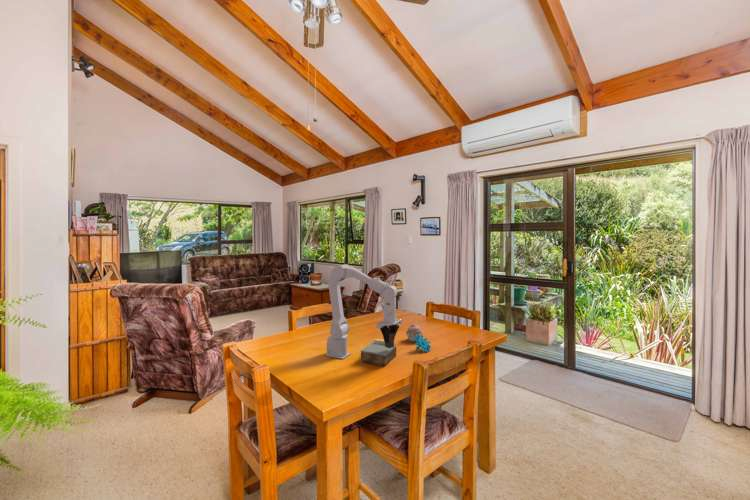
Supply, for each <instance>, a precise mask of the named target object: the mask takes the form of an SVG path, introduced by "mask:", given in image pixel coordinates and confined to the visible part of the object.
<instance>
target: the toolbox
mask: <svg viewBox="0 0 750 500" xmlns="http://www.w3.org/2000/svg"><path fill="white" fill-rule="evenodd" d="M396 357H397V346H396V347H395V348H394V349H393V350H392V351H390V352H389V353H388V354H387V355H386V356H380V355H375V354H369V353H363V352H361V351H360V363H363V364H367V365H374V366H380V367H383V368H385V367H386V366H387V365H388V364H390V362H391V361H393V360H394V359H395V358H396Z"/></svg>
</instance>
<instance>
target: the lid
mask: <svg viewBox="0 0 750 500" xmlns="http://www.w3.org/2000/svg"><path fill="white" fill-rule="evenodd" d="M395 347H396V348H397V344H396V343H394V347H392V348H387V347H385V342H384V339H379V338H375V339H374V341H372V342H371V343H369V344H368V345H366V346H365V347H364V348H362V349H361V350H360V353H361V352H363V353H369V354H375V355H380V356H386V355H387V354H388V353H389V352H390V351H392V350H393V349H394V348H395Z"/></svg>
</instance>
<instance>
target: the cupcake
mask: <svg viewBox="0 0 750 500" xmlns="http://www.w3.org/2000/svg"><path fill="white" fill-rule="evenodd" d="M405 334H406V336H407V340H408V342H410V343H416V341H414V339H415V336H417V335H418V334H420V338H421V335H423V331H422V329H421V328H420V326H419V325H417V324H416V322H414V323H411V324H410V326H408V328H407V330H406V331H405Z"/></svg>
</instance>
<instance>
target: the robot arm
mask: <svg viewBox="0 0 750 500" xmlns="http://www.w3.org/2000/svg"><path fill="white" fill-rule="evenodd" d="M348 278H354V279H356V280H359V281H361V282H362V283H364V284H367V285H368V288H369V289H370V290H372V291H374V292H375V293H377V294H379V295H381V296H382V297H383V311H382V313H383V315H382V316H383V320H382V321H380V322H377V323H375V328H376V329H379V330H380V332H381V334H382V336H383V340H384V342H387V343H388V341H389V333H390V332H393V333H394V340H395V339H396V335H397V333H398V330H399V329H400V325H402V324H403V319H402V318H397V312H396V311H397V297H396V296H397V295H398V293H399V292H398V289H397V287H396V285H394V284H390V283H388V282H385V281H383V280H382V279H381V278H380V277H371V276H369V275H367V274H366V273H364V272H362V271H360V270H358V269H357V268H355V267H354V266H352V265H350V264H348V263H344V264H341V265H336V266H334V267H333V268H332V269H331V271H330V276H329V279H328V280H327V281H328V283H327V284H328V290H329V291H328V292H329V299H330V307H331V314H332V315H331V316H332V320H331V323H330V329H329V333H330V335H329V336H328V338H327V340H326V354H325V356H326V357H328V358H329V357H330V358H335V359H339V360H340V359H341V360H344V359H345V358H347V357H348V356H350V355H351V352H349V351H348V332H350V325H349V323H348V322H347V321H348V320H347V318H346V317H345V315H344V306H343V300H342V293H341V292H342V291H341V284H342V282H343V281H344V280H345V279H348ZM398 324H400V325H398Z"/></svg>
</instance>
